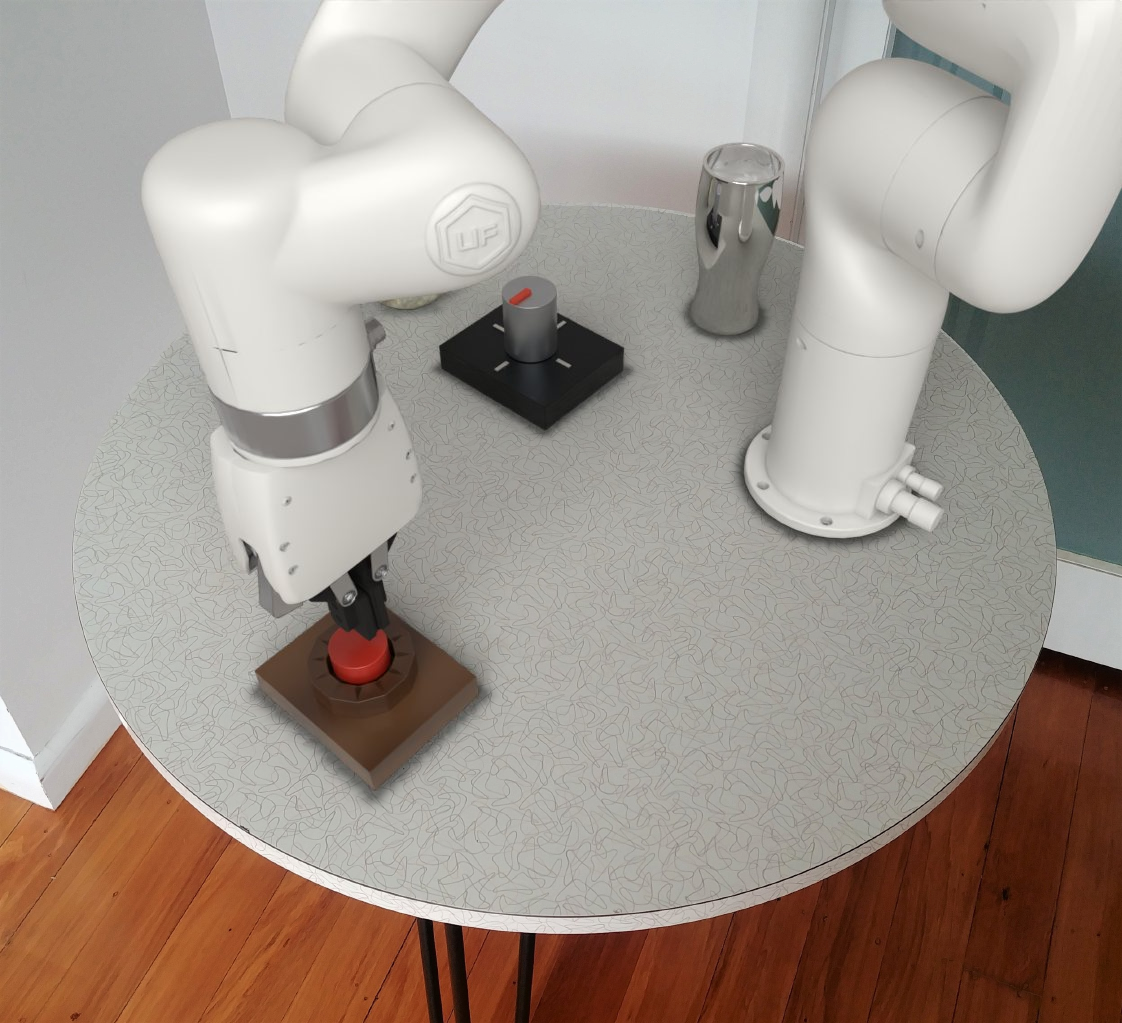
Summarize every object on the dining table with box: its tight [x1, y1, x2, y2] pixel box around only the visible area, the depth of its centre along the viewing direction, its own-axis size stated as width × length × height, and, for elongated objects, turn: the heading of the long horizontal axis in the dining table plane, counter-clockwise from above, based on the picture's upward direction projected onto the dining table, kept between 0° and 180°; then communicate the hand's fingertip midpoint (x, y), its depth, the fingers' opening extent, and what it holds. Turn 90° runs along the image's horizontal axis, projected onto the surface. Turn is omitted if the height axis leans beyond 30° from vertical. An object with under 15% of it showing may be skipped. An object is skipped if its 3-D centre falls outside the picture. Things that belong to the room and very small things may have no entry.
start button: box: [328, 628, 391, 684], centre depth 65 cm, size 4×4×2 cm
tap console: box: [438, 303, 625, 431], centre depth 90 cm, size 12×10×3 cm
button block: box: [254, 606, 479, 791], centre depth 67 cm, size 11×9×4 cm
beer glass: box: [690, 141, 786, 336], centre depth 90 cm, size 7×7×15 cm
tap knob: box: [501, 275, 558, 362], centre depth 87 cm, size 4×4×6 cm
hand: (363, 620), depth 64 cm, fingers closed
